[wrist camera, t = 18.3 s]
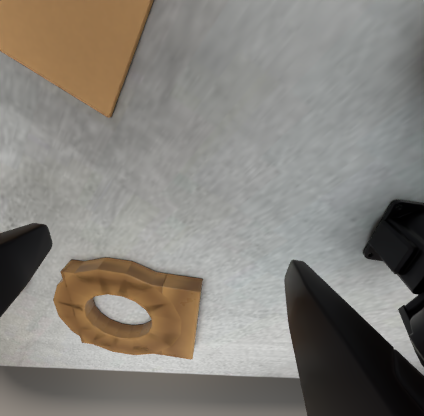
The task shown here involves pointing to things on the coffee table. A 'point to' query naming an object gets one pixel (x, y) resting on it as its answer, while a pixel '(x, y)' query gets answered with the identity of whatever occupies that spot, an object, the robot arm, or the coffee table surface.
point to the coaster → (76, 43)
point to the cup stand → (137, 291)
